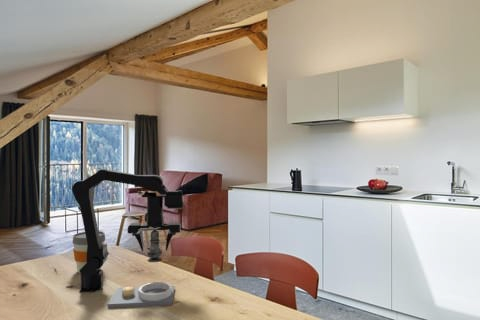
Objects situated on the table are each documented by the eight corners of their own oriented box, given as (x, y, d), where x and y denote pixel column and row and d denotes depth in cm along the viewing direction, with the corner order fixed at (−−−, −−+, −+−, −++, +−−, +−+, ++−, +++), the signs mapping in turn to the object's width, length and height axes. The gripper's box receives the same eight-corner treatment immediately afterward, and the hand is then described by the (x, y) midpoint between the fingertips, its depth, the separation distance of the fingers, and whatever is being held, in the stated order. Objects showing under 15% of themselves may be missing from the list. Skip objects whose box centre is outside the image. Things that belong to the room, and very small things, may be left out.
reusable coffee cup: (111, 268, 144) (111, 233, 144) (84, 277, 133) (84, 239, 133) (93, 263, 151) (93, 229, 150) (66, 271, 140) (66, 235, 140)
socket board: (107, 307, 108) (107, 297, 108) (117, 291, 121) (117, 282, 121) (171, 305, 110) (171, 295, 110) (174, 289, 123) (174, 280, 123)
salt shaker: (159, 262, 123) (160, 230, 123) (144, 262, 124) (144, 229, 123) (164, 257, 129) (164, 226, 129) (149, 257, 129) (149, 226, 129)
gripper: (181, 205, 135) (180, 244, 135) (132, 205, 133) (132, 245, 133) (180, 210, 124) (179, 252, 124) (127, 210, 122) (127, 253, 122)
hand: (154, 250), depth 126 cm, fingers closed on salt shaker, 8 cm apart
